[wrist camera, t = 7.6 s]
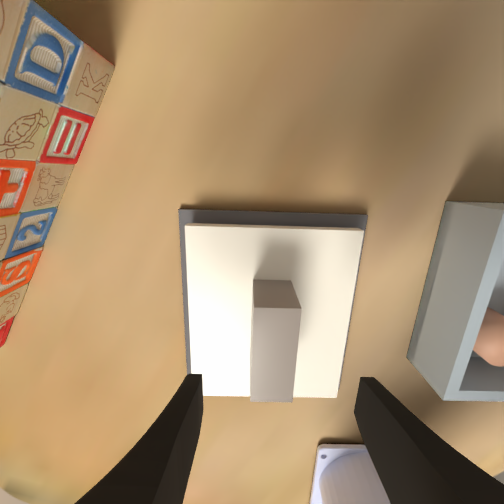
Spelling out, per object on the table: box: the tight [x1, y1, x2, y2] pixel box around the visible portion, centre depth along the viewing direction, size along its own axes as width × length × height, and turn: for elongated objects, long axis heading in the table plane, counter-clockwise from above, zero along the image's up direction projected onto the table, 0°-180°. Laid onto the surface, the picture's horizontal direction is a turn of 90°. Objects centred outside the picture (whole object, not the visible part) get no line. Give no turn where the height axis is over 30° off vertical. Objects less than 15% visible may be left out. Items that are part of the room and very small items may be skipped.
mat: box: [178, 209, 368, 390], centre depth 19 cm, size 14×12×1 cm
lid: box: [185, 223, 364, 402], centre depth 16 cm, size 13×11×5 cm
